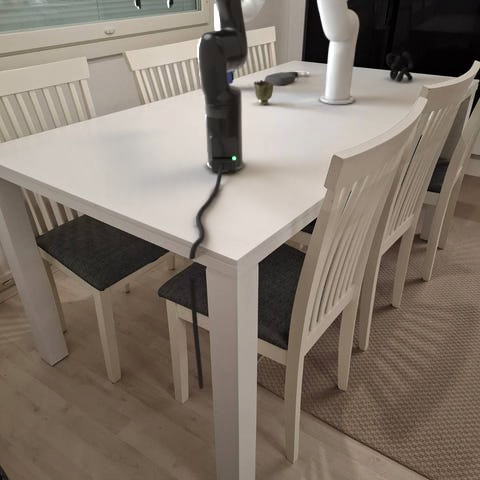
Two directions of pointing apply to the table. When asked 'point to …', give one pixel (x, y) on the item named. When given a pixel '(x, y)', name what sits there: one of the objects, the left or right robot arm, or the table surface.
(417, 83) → the table surface
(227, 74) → the brick
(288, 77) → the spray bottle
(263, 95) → the cup
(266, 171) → the table surface
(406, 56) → the squiggle
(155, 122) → the table surface
